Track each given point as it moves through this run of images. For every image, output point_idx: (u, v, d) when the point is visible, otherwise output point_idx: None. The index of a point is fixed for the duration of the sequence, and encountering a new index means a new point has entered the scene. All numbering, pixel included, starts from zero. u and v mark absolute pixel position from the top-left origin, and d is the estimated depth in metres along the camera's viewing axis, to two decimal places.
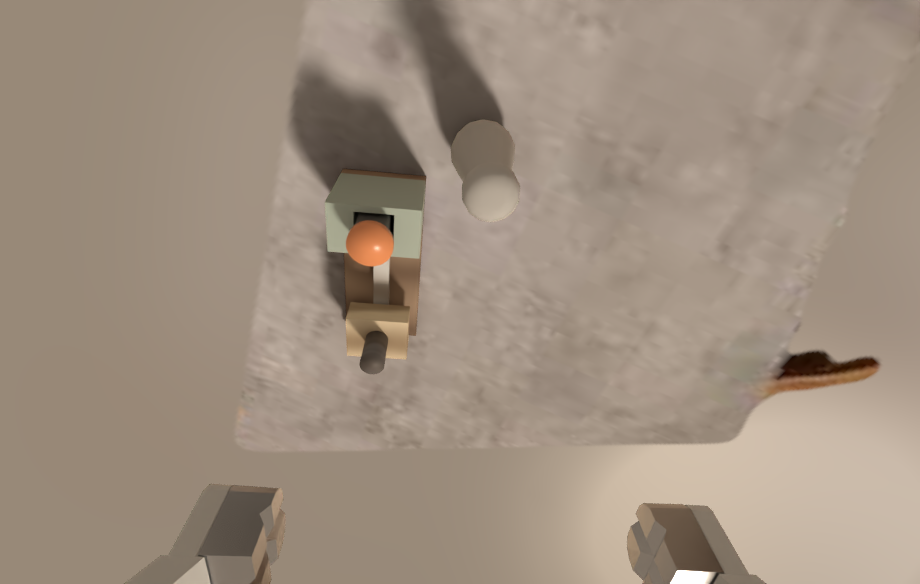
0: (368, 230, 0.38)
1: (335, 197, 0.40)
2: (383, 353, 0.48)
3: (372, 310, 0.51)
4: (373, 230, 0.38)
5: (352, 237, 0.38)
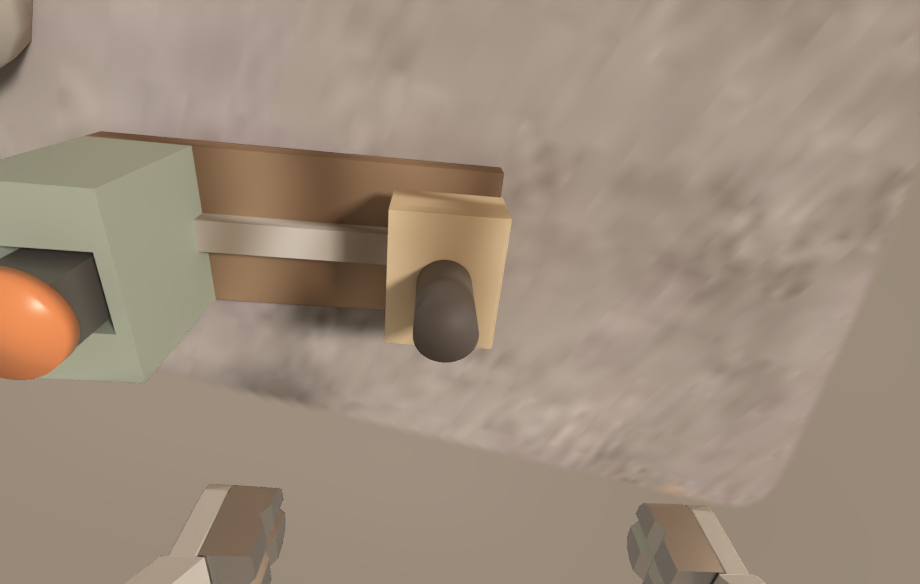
0: None
1: None
2: (432, 293, 0.18)
3: None
4: None
5: None
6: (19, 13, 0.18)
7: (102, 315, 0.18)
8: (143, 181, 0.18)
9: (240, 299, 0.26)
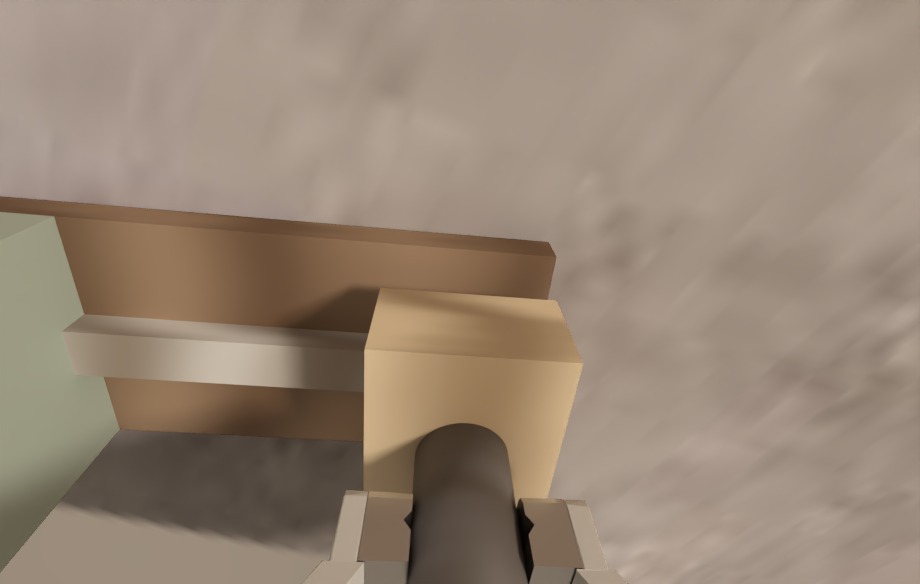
0: None
1: None
2: (441, 528, 0.09)
3: None
4: None
5: None
6: None
7: None
8: None
9: (156, 429, 0.17)
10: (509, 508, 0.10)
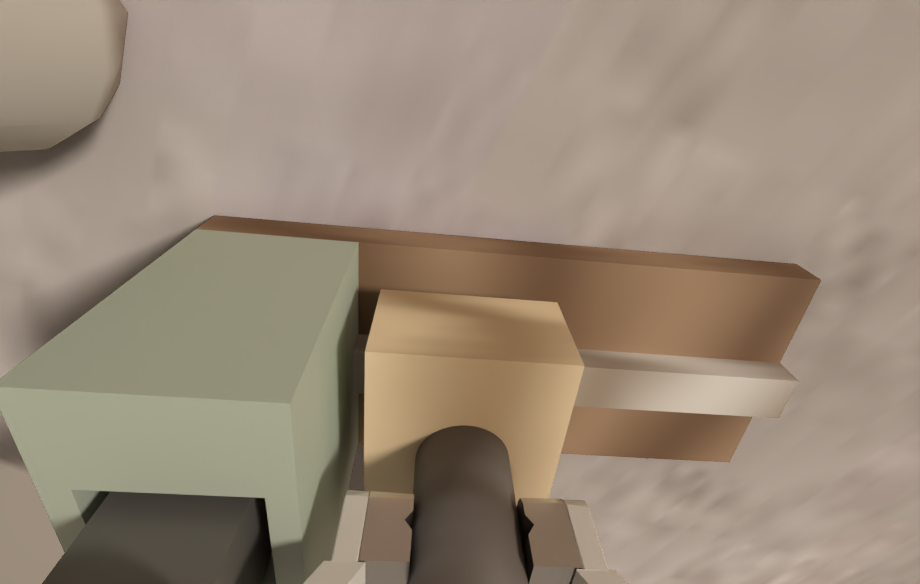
0: None
1: None
2: (441, 532, 0.09)
3: None
4: None
5: None
6: (115, 44, 0.11)
7: (258, 578, 0.10)
8: (327, 336, 0.10)
9: None
10: (510, 511, 0.10)
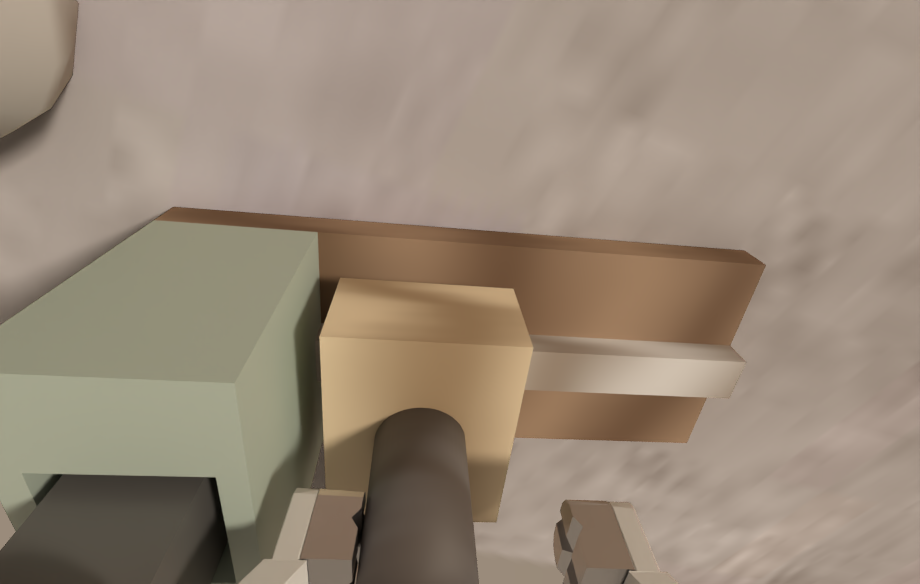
0: None
1: None
2: (392, 506, 0.10)
3: None
4: None
5: None
6: (63, 34, 0.11)
7: (208, 576, 0.10)
8: (280, 321, 0.11)
9: None
10: (461, 487, 0.11)
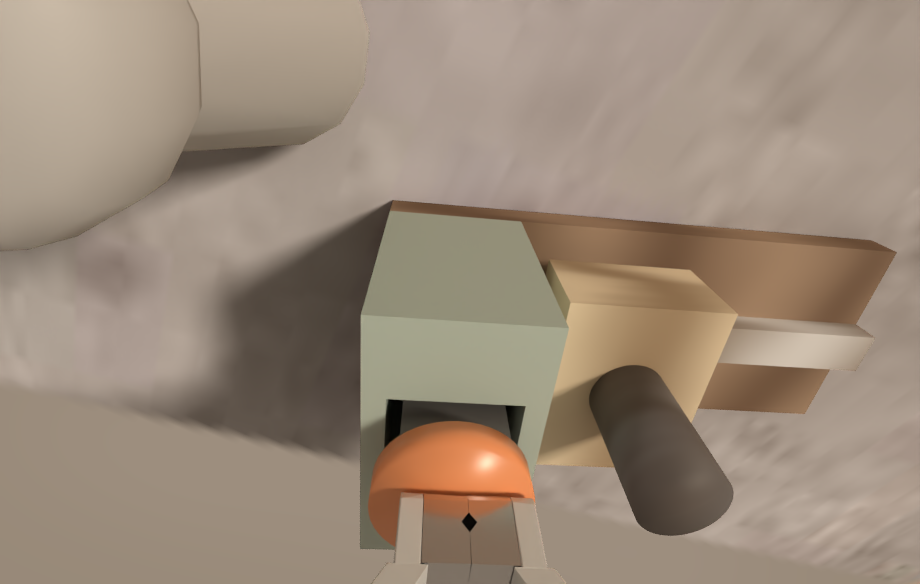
0: (390, 509, 0.11)
1: None
2: (652, 434, 0.12)
3: None
4: (389, 497, 0.11)
5: None
6: None
7: None
8: None
9: None
10: None
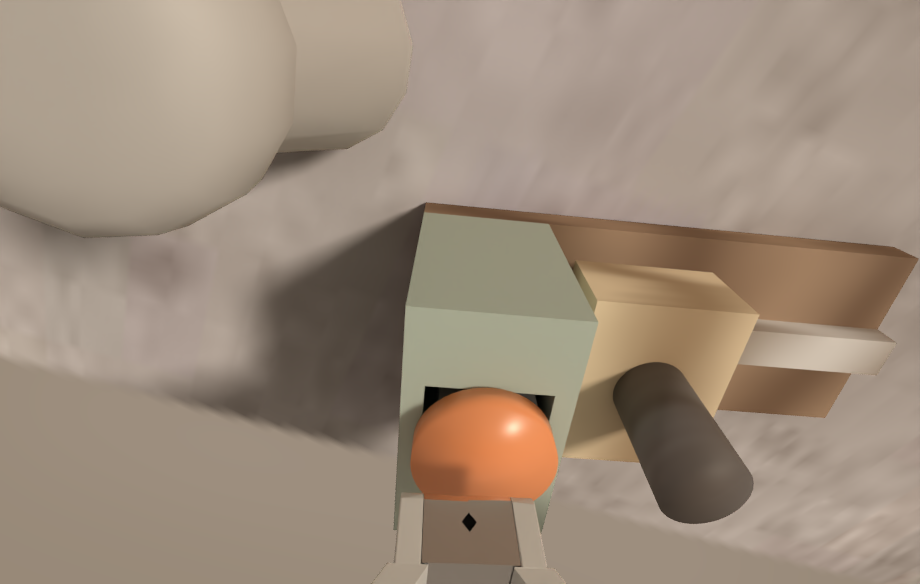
0: (430, 464, 0.12)
1: None
2: (675, 426, 0.13)
3: None
4: (429, 453, 0.12)
5: None
6: None
7: None
8: None
9: None
10: None
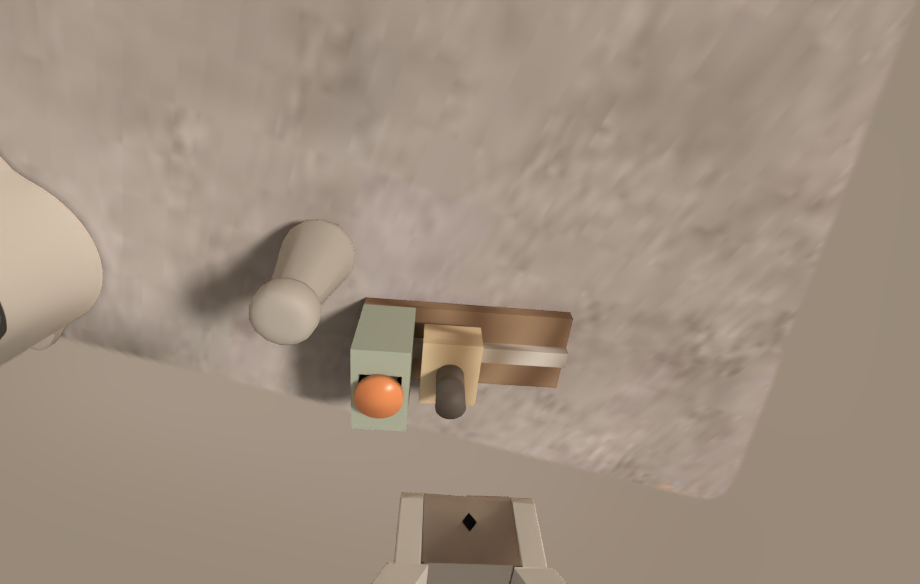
0: (360, 399, 0.37)
1: None
2: (444, 386, 0.38)
3: None
4: (360, 395, 0.37)
5: (369, 412, 0.38)
6: None
7: None
8: None
9: None
10: (461, 384, 0.39)
